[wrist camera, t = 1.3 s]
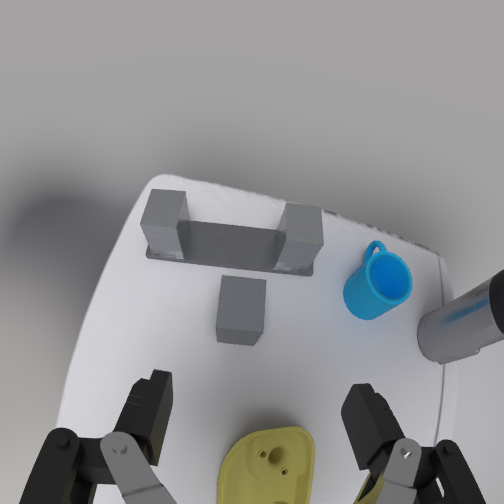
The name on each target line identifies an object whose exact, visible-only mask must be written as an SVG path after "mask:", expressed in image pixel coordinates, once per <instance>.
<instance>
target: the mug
mask: <svg viewBox="0 0 504 504" xmlns="http://www.w3.org/2000/svg"><path fill="white" fill-rule="evenodd" d="M376 247H378V248H379V250H380V252H377V253H375V254H374V255H373V256H372V254H373V251H374V249H375V248H376ZM411 290H412V277H411V273H410V271H409V269H408V267H407V265H406V264H405V262H404V261H403V260H402V259H401V258H400V257H398V256H397V255H395V254H393V253H391V252H388V251H387V250H386V248H385V246H384V244H383V243H382V242H380V241H373V242H372V243H370V245H369V246H368V248H367V251H366V253H365V258H364V264H363V265H362V267H361V268H360V269H358V270H357V271H356V272H355V273H354V274H353V275H352V276H351V277H350V278H349V279H348V280H347V282H346V284H345V286H344V292H343V295H344V301H345V303H346V306H347V308H348V309H349V310H350V312H351V313H352V314H353V315H355V316H356V317H358V318H360V319H364V320H372V319H374V318H376V317H378V316H380V315H382V314H384V313H385V312H387V311H389V310H390V309H392V308H394V307H396V306H397V305H399V304H401V303H402V302H404V301H405V300H406V299H407V298H408V297H409V295H410V293H411Z"/></svg>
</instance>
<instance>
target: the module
mask: <svg viewBox="0 0 504 504" xmlns="http://www.w3.org/2000/svg"><path fill="white" fill-rule="evenodd" d="M265 294H266V280H262V279H252V278H243V277H234V276H225V275H222V280H221V288H220V296H219V305H218V313H217V322H216V333H217V342H220V343H229V344H239V345H250V346H253V345H254V344H255V343H256V341H257V340H258V338H259V337H260V336H261V334H262V333H263V328H264V312H265Z"/></svg>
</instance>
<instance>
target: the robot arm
mask: <svg viewBox="0 0 504 504" xmlns="http://www.w3.org/2000/svg"><path fill="white" fill-rule="evenodd" d="M501 340H504V270H502V271H500V272H499V273H497V274H496V275H495V276H493V277H492V278H490V279H489V280H487V281H485V282H484V283H482V284H480V285H479V286H477V287H476V288H474V289H472V290H471V291H469V292H467V293H466V294H464V295H462V296H460V297H459V298H457V299H455V300H453V301H452V302H450V303H448V304H446V305H444V306H442V307H440V308H438V309H437V310H434V311H432V312H431V313H429V314H427V315H426V316H424V318H423V319H422V320H421V322H420V325H419V328H418V342H419V346H420V349H421V351H422V353H423V354H424V355H425V356H426V358H428V359H429V360H431V361H437V362H439V363H440V364H441V365H442V364H446V363H449V362H453V361H457V360H460V359H463V358H467V357H470V356H473V355H476V354H478V353H479V351H480V349H481V348H482V347H485V346H488V345H491V344H493V343H496V342H498V341H501ZM172 404H173V386H172V373H171V372H167V371H162V370H156V369H154V370H153V373H152V375H151V378H150V380H147V379H143V378H141V379H140V380H139V381H137V382H136V383H135V384H134V385H133V387H132V389H131V391H130V393H129V396H128V398H127V400H126V403H125V405H124V407H123V409H122V412H121V414H120V416H119V419H118V421H117V424H116V426H115V428H114V430H113V431H112V432H111V433H109V434H107V435H105V436H104V437H103V438H80V437H78V436H77V435H76V434H75V433H74V432H73V431H72V430H70V429H67V428H56V429H54V430H52V431H51V432H50V433H49V434H48V436H47V438H46V440H45V442H44V444H43V446H42V448H41V450H40V453H39V455H38V457H37V459H36V462H35V464H34V467H33V469H32V471H31V474H30V476H29V478H28V481H27V484H26V486H25V489H24V492H23V494H22V497H21V500H20V503H19V504H93V500H94V496H95V492H96V488H97V484H113V485H117V486H118V488H119V490H120V492H121V494H122V497H123V499H124V501H125V503H126V504H177V503H176V502H175V500H174V499H173V498H172V496H171V495H170V493H169V492H168V490H167V489H166V488H165V486H164V485H163V484H161V483H160V481H159V480H158V478H157V477H156V475H155V474H154V472H153V470H152V469H151V467H150V465H153V466H158V462H159V458H160V453H161V449H162V445H163V441H164V437H165V433H166V429H167V425H168V421H169V417H170V413H171V409H172ZM341 416H342V420H343V423H344V426H345V428H346V431H347V434H348V437H349V440H350V443H351V446H352V449H353V452H354V455H355V458H356V461H357V464H358V467H359V470H365V469H369V471H370V473H369V474H368V476H367V478H366V480H365V482H364V484H363V486H362V488H361V490H360V492H359V494H358V496H357V498H356V500H355V501H354V503H353V504H486V503H485V500H484V498H483V496H482V494H481V491H480V489H479V487H478V485H477V483H476V481H475V479H474V477H473V475H472V472H471V470H470V468H469V466H468V464H467V462H466V461H465V459H464V457H463V455H462V453H461V451H460V449H459V447H458V446H457V444H456V443H454V442H453V441H451V440H442V441H440V442H439V443H438V444H437V445H436V446H435V447H420V445H419V444H418V443H417V442H416V441H414V440H412V439H409V438H406V437H405V436H404V434H403V432H402V430H401V428H400V426H399V424H398V422H397V420H396V418H395V416H393V413H392V411H391V409H390V407H389V405H388V403H387V401H386V400H385V399H384V398H383V397H382V396H381V395H380V394H379V393H375V392H374V390H373V388H372V386H371V385H370V384H369V383H366V384H354V385H353V386H352V387H351V389H350V391H349V393H348V395H347V397H346V399H345V402H344V404H343V406H342V409H341ZM437 478H439V480H440V482H441V485H442V487H443V489H444V497H442V494H441V492H440V489H439V487H438V484H437V482H436V479H437Z"/></svg>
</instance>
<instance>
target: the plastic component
mask: <svg viewBox="0 0 504 504" xmlns="http://www.w3.org/2000/svg"><path fill="white" fill-rule="evenodd" d="M314 459H315V448H314V442H313V439H312V437H311V435H310V434H309V432H308V431H306V430H305V429H303V428H301V427H297V426H289V427H282V428H275V429H266V430H260V431H256V432H253V433H250V434H248V435H246V436H245V437H243V438H241V439H240V440H239V441H238V442H237V443H236V444H235V445H234V446H233V447H232V448H231V450H230V451H229V452H228V454H227V455H226V457H225V459H224V461H223V463H222V466H221V469H220V473H219V478H218V488H217V504H309V500H310V493H311V486H312V478H313V470H314ZM284 469H285V471H284V472H283V473H282V471H283V470H284Z"/></svg>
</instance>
